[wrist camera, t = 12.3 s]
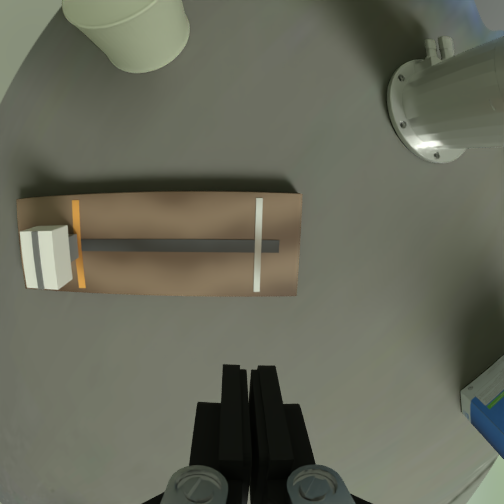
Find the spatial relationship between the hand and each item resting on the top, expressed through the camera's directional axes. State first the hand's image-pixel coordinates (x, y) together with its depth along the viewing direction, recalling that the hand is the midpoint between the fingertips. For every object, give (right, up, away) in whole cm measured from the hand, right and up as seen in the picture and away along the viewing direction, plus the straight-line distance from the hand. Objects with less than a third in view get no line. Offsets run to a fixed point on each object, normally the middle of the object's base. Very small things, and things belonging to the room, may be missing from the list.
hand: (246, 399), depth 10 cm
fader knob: (-18, +5, +18) cm, 27 cm away
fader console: (-10, +6, +21) cm, 24 cm away
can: (-11, +27, +17) cm, 34 cm away
